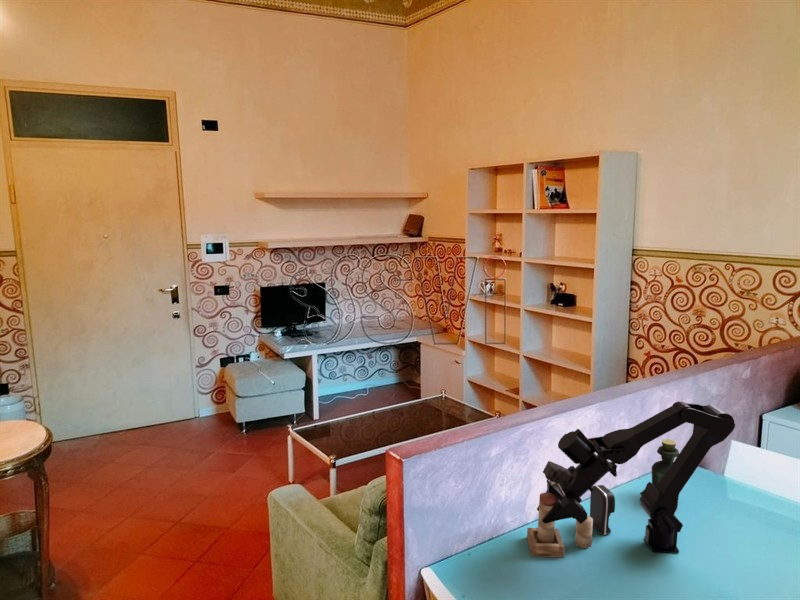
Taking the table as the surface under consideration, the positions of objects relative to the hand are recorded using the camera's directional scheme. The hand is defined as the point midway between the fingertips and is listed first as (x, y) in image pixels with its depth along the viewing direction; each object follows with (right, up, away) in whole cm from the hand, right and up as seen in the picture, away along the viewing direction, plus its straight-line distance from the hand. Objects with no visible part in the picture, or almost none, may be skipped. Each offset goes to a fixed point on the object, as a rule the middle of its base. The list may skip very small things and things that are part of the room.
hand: (540, 516), depth 147 cm
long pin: (+1, -8, +1) cm, 8 cm away
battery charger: (+19, -7, +10) cm, 22 cm away
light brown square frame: (+1, -8, +2) cm, 9 cm away
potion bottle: (+42, -4, +24) cm, 48 cm away
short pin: (+12, -8, +3) cm, 14 cm away
